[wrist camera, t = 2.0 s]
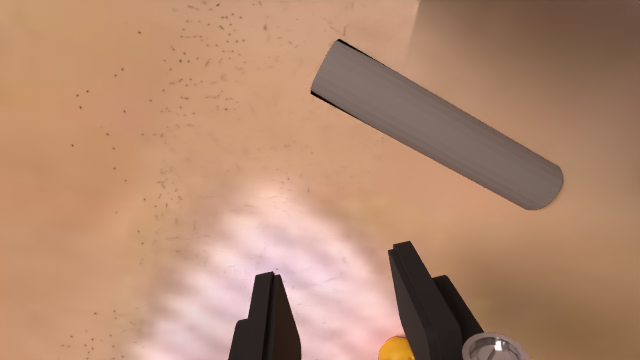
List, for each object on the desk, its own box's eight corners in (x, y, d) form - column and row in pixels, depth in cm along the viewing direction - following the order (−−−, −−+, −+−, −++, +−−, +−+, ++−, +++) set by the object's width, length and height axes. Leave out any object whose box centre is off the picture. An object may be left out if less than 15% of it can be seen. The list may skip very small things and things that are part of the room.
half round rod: (524, 210, 29) (537, 220, 28) (305, 92, 25) (305, 96, 24) (558, 164, 28) (575, 171, 26) (335, 33, 24) (338, 32, 22)
